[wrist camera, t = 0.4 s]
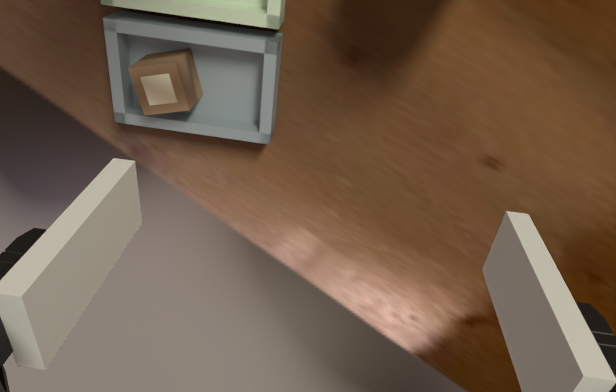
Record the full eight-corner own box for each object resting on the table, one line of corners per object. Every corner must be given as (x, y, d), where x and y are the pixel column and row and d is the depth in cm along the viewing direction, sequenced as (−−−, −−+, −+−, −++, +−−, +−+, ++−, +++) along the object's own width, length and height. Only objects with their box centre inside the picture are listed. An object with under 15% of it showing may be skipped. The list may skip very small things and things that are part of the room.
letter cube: (146, 54, 40) (127, 68, 37) (190, 48, 40) (175, 62, 36) (161, 98, 42) (143, 115, 39) (203, 93, 42) (189, 110, 38)
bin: (119, 10, 39) (102, 17, 37) (282, 33, 39) (277, 42, 37) (128, 109, 44) (115, 122, 42) (274, 130, 44) (269, 144, 42)
